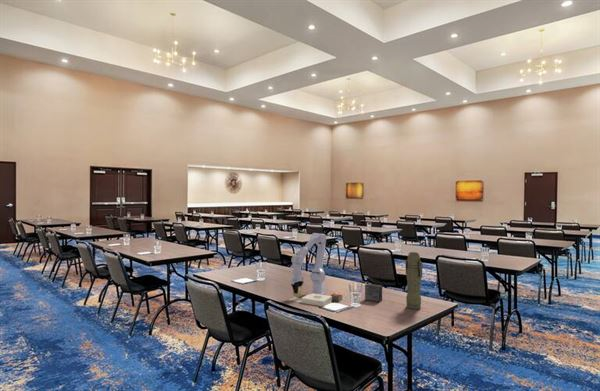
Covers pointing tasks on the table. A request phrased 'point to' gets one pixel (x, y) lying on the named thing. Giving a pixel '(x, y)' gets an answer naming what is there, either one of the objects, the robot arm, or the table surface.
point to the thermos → (413, 280)
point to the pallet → (317, 299)
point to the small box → (373, 292)
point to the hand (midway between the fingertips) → (297, 292)
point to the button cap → (336, 294)
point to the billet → (298, 291)
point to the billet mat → (296, 299)
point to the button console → (336, 298)
